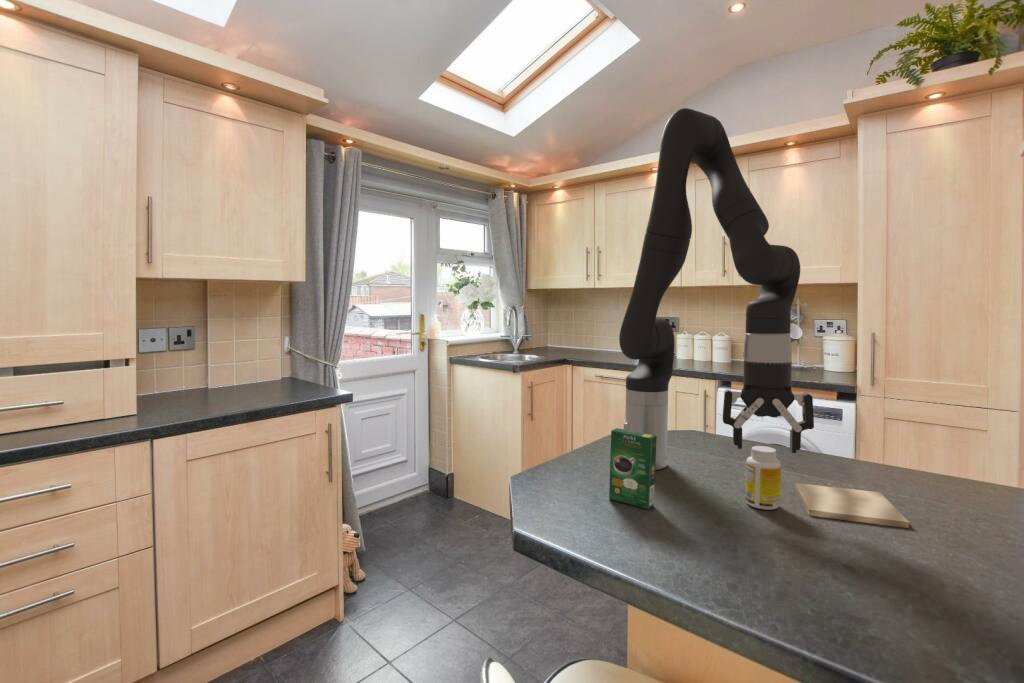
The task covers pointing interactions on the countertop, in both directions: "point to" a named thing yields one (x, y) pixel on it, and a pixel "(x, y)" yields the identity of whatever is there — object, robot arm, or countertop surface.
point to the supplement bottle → (763, 478)
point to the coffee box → (632, 467)
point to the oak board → (849, 505)
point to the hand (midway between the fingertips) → (765, 450)
